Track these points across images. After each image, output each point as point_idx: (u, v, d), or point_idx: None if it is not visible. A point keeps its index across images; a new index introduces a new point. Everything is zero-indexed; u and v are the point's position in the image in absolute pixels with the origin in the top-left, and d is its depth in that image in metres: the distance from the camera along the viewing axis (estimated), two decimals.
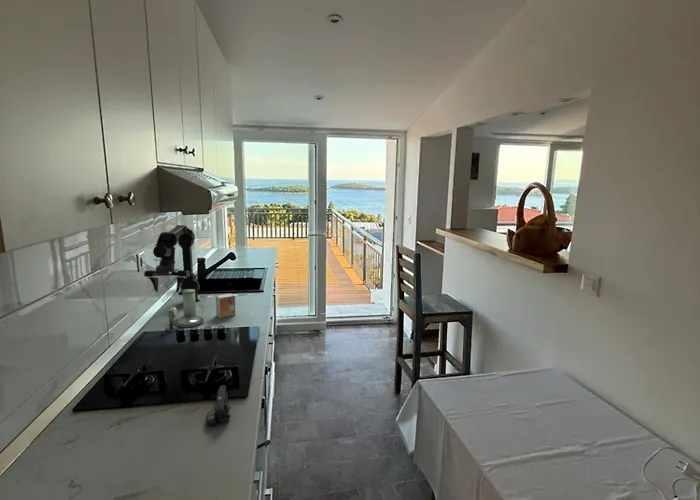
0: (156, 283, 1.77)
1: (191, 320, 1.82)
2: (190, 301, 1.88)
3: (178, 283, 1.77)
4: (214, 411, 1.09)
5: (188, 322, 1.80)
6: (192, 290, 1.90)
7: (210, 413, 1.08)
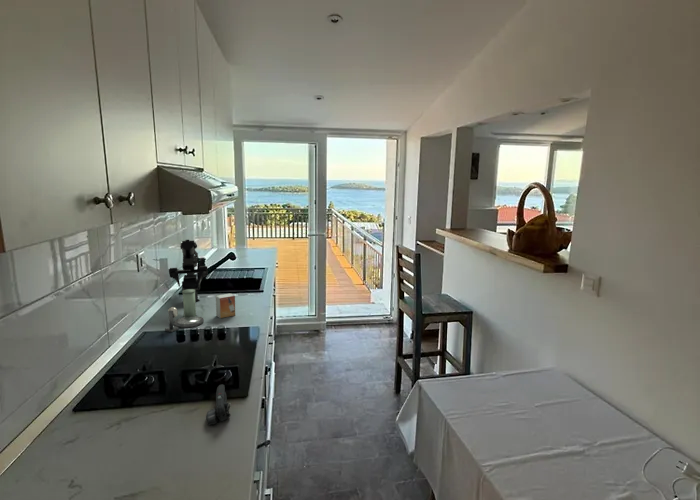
0: (178, 279, 1.97)
1: (191, 320, 1.82)
2: (190, 301, 1.88)
3: (200, 276, 2.00)
4: (214, 410, 1.09)
5: (188, 322, 1.80)
6: (192, 290, 1.90)
7: (210, 412, 1.09)
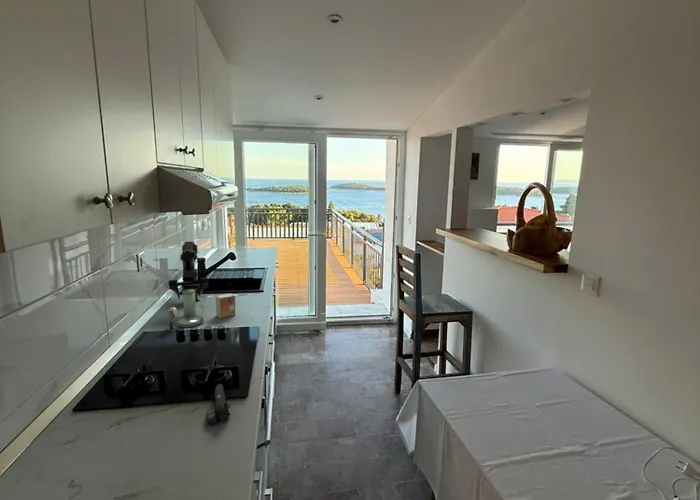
0: (178, 291, 1.92)
1: (191, 320, 1.82)
2: (190, 301, 1.88)
3: (200, 289, 1.94)
4: (214, 409, 1.10)
5: (188, 322, 1.80)
6: (192, 290, 1.90)
7: (210, 412, 1.09)
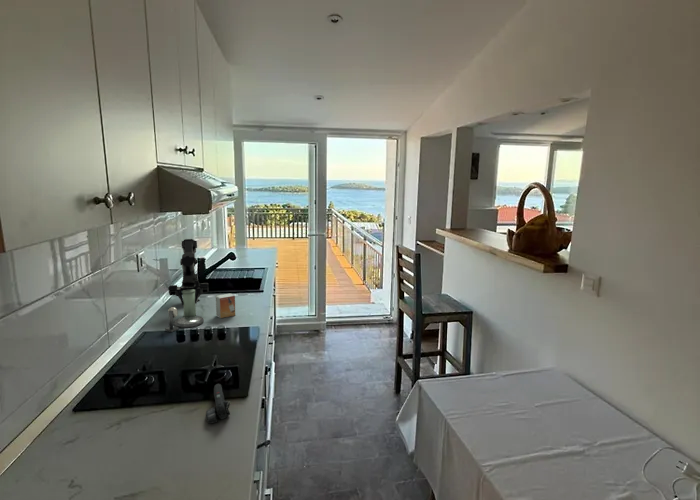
0: None
1: (191, 320, 1.82)
2: (190, 301, 1.88)
3: (197, 294, 1.92)
4: (213, 409, 1.10)
5: (188, 322, 1.80)
6: (192, 290, 1.90)
7: (210, 411, 1.09)
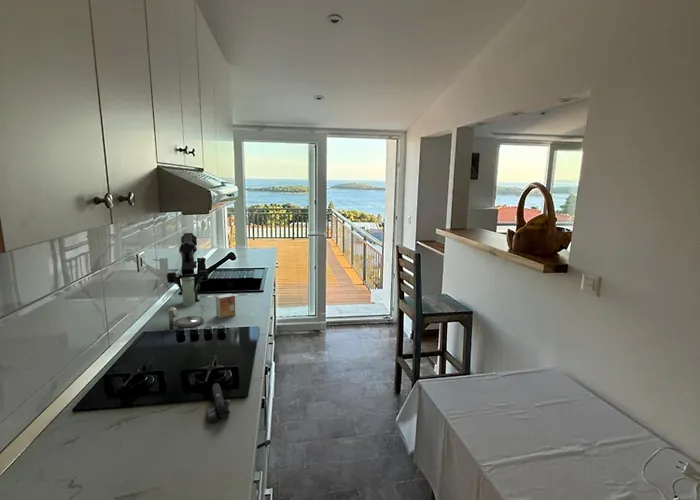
0: None
1: (191, 320, 1.82)
2: (189, 289, 1.84)
3: (196, 282, 1.88)
4: (213, 408, 1.10)
5: (188, 322, 1.80)
6: (191, 277, 1.86)
7: (210, 410, 1.10)
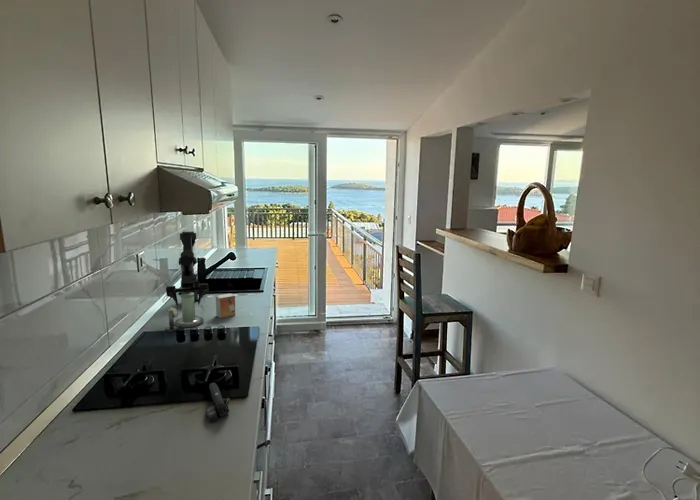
0: None
1: None
2: (189, 305, 1.78)
3: (200, 295, 1.82)
4: (213, 407, 1.11)
5: (188, 322, 1.80)
6: (191, 293, 1.80)
7: (210, 409, 1.10)
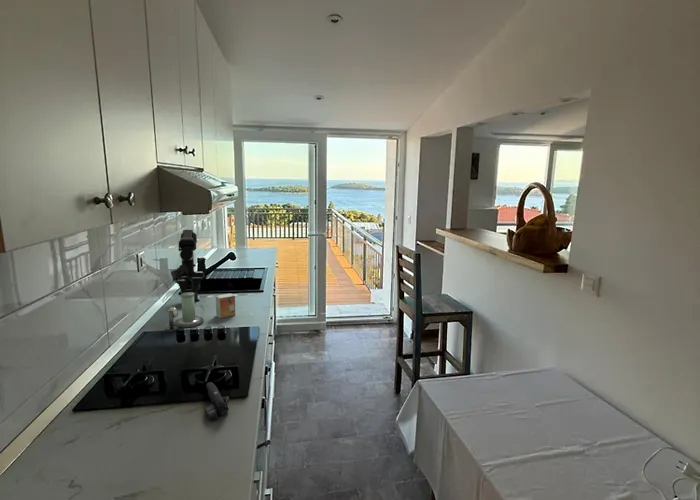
0: (182, 286, 1.96)
1: None
2: (189, 305, 1.78)
3: (192, 284, 1.89)
4: (212, 406, 1.11)
5: (188, 322, 1.80)
6: (191, 293, 1.80)
7: (209, 408, 1.11)
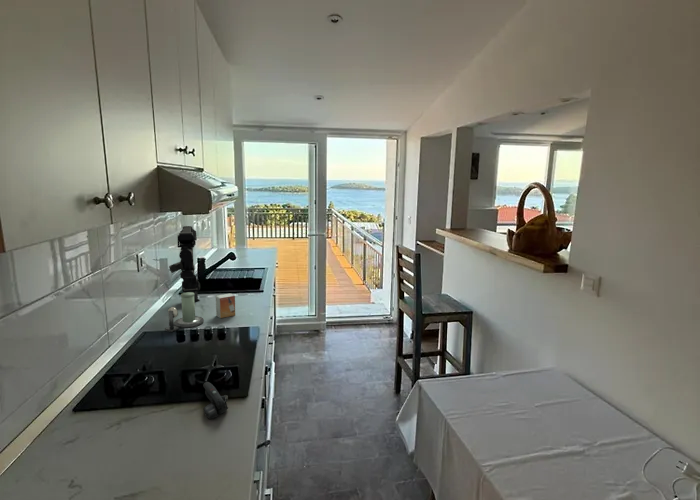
0: None
1: None
2: (190, 305, 1.78)
3: (185, 282, 1.90)
4: (211, 405, 1.12)
5: (188, 322, 1.80)
6: (191, 293, 1.80)
7: (209, 407, 1.11)
